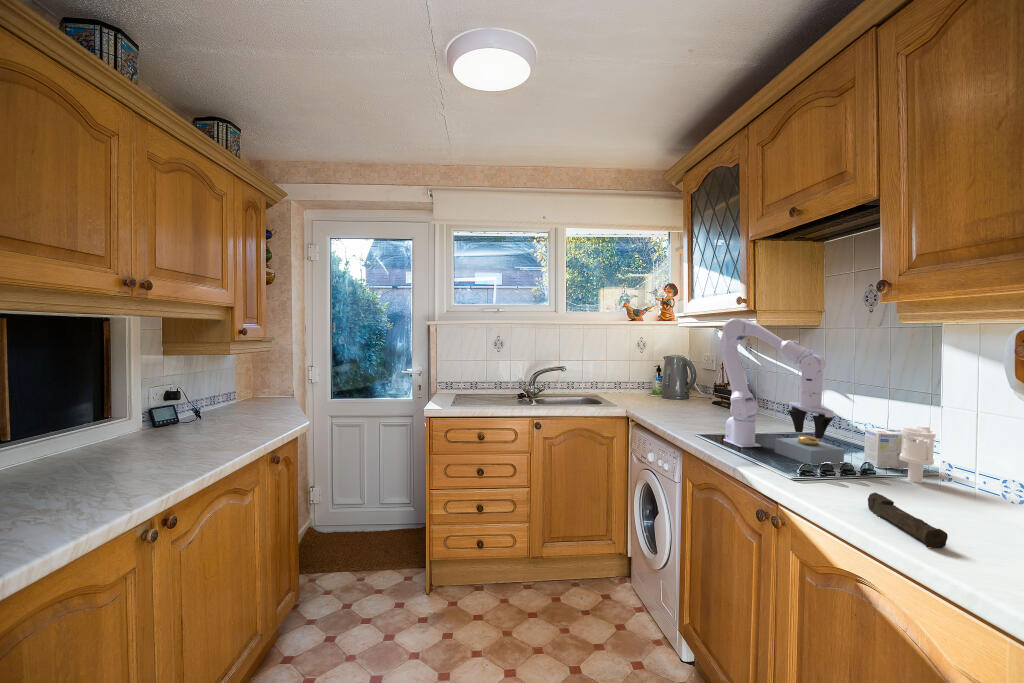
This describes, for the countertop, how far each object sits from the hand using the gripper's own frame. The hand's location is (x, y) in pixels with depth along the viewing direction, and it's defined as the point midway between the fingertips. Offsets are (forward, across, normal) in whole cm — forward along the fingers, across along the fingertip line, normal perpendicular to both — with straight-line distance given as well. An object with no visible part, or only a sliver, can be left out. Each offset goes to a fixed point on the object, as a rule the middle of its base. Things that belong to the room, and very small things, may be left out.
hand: (808, 435), depth 145 cm
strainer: (+7, +23, +12) cm, 27 cm away
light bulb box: (+7, +11, +18) cm, 22 cm away
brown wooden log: (+8, +45, -23) cm, 51 cm away
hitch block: (+7, 0, 0) cm, 7 cm away
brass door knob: (+7, 0, 0) cm, 7 cm away
